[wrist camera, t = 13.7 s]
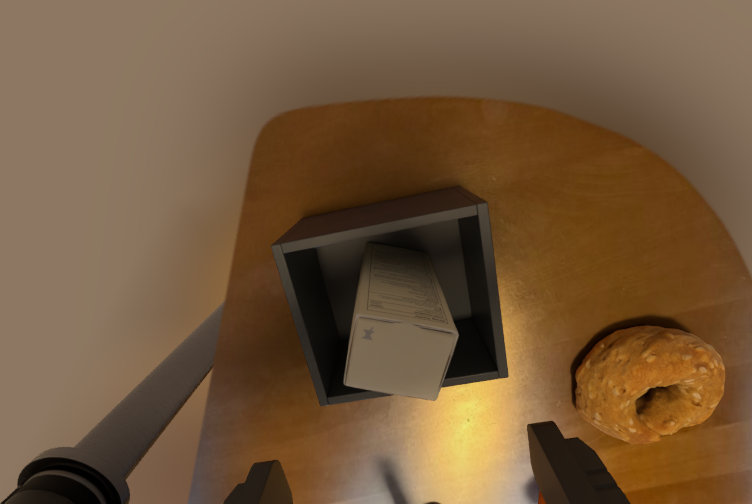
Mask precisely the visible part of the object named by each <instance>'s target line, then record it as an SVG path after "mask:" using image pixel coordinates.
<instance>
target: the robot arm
mask: <svg viewBox="0 0 752 504" xmlns="http://www.w3.org/2000/svg"><path fill="white" fill-rule="evenodd" d="M527 431H528V441H529V450H530V459H531V465H532V470H533V473H534V476H535V479H536V482H537V485H538V487H539V489H540V492H541V494H542V496H543V498H544V501H545V503H546V504H630V502H629V501H628V499H627V498H626V496H625V495H624V493H623V492H622V490H621V489H620V488H619V487H618V486H617V483H616V482H615V480H614V479H613V477H612V476H611V474H610V473H609V472H608V471H607V468H606V467H605V465H604V464H603V462H602V461H601V460H600V458H599V457H598V455H597V454H596V452H595V451H594V450H593V449H592V448H590V447H589V446H588V445H587V444H585V443H584V442H583V441H581V440H580V439H579V438H578V437H576V438H569V439H564V437H563V435H562V434H561V432H560V430H559V429H558V427H557V425H556V424H555V423H554V422H553V421H546V422H540V423H533V424H528V425H527ZM0 504H110V500H109V497H108V495H107V493H106V492H105V490H104V489H103V487H102V486H101V485H100V484H99V483H98V482H97V481H95V480H94V479H93V478H91V477H90V476H88V475H86V474H84V473H82V472H80V471H78V470H75V469H71V468H66V467H48V468H44V469H42V470H39V471H38V472H36V473H35V474H34V475H33V476H32V477H31V478H29V479H28V480H27V481H26V482H24V483H22V484H21V485H20V486H19V487H17V488H16V489H15V490H14V491H13V492H12V493H11V494H10V495H9V496H8V497H7V498H6V499H5V500H3V502H1V503H0ZM224 504H293V498H292V493H291V490H290V488H289V485H288V482H287V480H286V477H285V474H284V471H283V469H282V466H281V464H280V462H279V461H278V460H273V461H266V462H259V463H255V464H253V466H252V467H251V469H250V472H249V474H248V476H247V479H246V481H245V483H242V484H238V485H237V486H236V487H235V489H234V490H233V491H232V492H231V494H230V495H229V496H228V497H227V499H226V500H225V501H224Z"/></svg>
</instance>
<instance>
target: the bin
mask: <svg viewBox="0 0 752 504" xmlns="http://www.w3.org/2000/svg"><path fill="white" fill-rule="evenodd" d="M367 243H374V244H381V245H387V246H392V247H398V248H403V249H409V250H414V251H418V252H422V253H427V254H429V256H430V258H431V261H432V264H433V267H434V270H435V273H436V275H437V278H438V281H439V284H440V286H441V289H442V291H443V294H444V297H445V300H446V302H447V305H448V308H449V311H450V313H451V316H452V319H453V322H454V324H455V327H456V329H457V331H458V334H459V337H458V340H457V342H456V346H455V349H454V352H453V355H452V358H451V361H450V364H449V366H448V369H447V372H446V375H445V378H444V380H443V383H442V386H441V388H442V387H448V386H455V385H461V384H468V383H474V382H480V381H487V380H493V379H498V378H507V377H508V368H507V359H506V351H505V343H504V334H503V326H502V318H501V309H500V301H499V293H498V284H497V276H496V268H495V259H494V251H493V243H492V234H491V226H490V218H489V209H488V203H487V202H486V201H484V200H483V199H481V198H479V197H478V196H476V195H474V194H472V193H471V192H469V191H467V190H466V189H464V188H462V187H460V186H456V187H451V188H447V189H442V190H437V191H432V192H427V193H422V194H417V195H413V196H408V197H403V198H398V199H393V200H388V201H384V202H379V203H374V204H369V205H364V206H359V207H354V208H350V209H345V210H340V211H335V212H330V213H325V214H321V215H316V216H311V217H306V218H302V219H301V220H300V221H298V222H297V223H296V224H295V225H294V226H293V227H292V228H291V229H289V230H288V231H287V232H286V233H285V234H284V235H283V236H282V237H280V238H279V239H278V240H277V241H276V242H275V243H274V244H272V245H271V248H272V252H273V255H274V258H275V261H276V264H277V268H278V271H279V274H280V277H281V281H282V284H283V287H284V290H285V293H286V297H287V300H288V303H289V306H290V310H291V313H292V316H293V319H294V322H295V326H296V329H297V332H298V335H299V339H300V342H301V345H302V348H303V351H304V355H305V358H306V361H307V364H308V367H309V371H310V374H311V377H312V380H313V384H314V387H315V390H316V393H317V396H318V400H319V403H320V406H326V405H333V404H339V403H345V402H352V401H358V400H365V399H371V398H378V397H384V396H390V395H394V394H388V393H382V392H377V391H371V390H366V389H360V388H355V387H350V386H346V385H345V384H344V375H345V368H346V360H347V353H348V347H349V340H350V333H351V326H352V320H353V314H354V307H355V301H356V294H357V287H358V281H359V275H360V270H361V264H362V259H363V255H364V251H365V246H366V244H367Z"/></svg>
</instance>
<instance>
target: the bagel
mask: <svg viewBox="0 0 752 504" xmlns="http://www.w3.org/2000/svg"><path fill="white" fill-rule="evenodd" d="M575 377H576V381H577V388H576V391H575V394H576V409H577V412H578V413H579V415H580V416H581V417H582V418H583V419H584V420H585V421H587V422H589V423H591V424H592V425H594V426H595V427H596V428H598V429H599V430H601V431H603V432H604V433H606V434H608V435H610V436H613V437H615V438H618V439H621V440H623V441H625V442H628V443H631V444H642V443H652V442H657V441H660V440H661V436H660V435H667V434H670V435H672V433H675V432H677V431H678V429H680V428H681V427H688V426H693V425H696V424H700V423H702V422H703V421H704V420H706V419H707V418H708V417H709V416H710V415H711V414H712V412H713V411H714V409H715V408H716V406H717V404H718V403H719V401H720V399H721V398H722V396H723V394H724V382H725V367H724V365H723V362H722V358H721V356H720V355H719V354H718V353H717V352H716V351H715V350H714V348H713V347H712V346H711V345H708V344H707V343H705V342H704V341H703V340H702V339H700V338H699V337H697V336H695V335H693V334H692V333H687V332H684V331H682V330H679V329H671V328H663V327H659V326H636V327H631V328H627V329H621V330H618V331H615V332H614V333H612V334H611V335H609V336H607V337H605V338H604V339H602V340H601V341H599V342H598V343H597V344H596V345H595V346H594V347H593V349H592V350H591V351H590V352H589V353H588V354H587V355H586V357H585V359H583V363H582V365H580V366H579V368H578V369H577V371H576V375H575Z"/></svg>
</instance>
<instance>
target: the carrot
mask: <svg viewBox="0 0 752 504" xmlns="http://www.w3.org/2000/svg"><path fill="white" fill-rule="evenodd" d="M538 504H546V503H545V501H544V498H543V496H542V494H541V492H540V491H539V500H538Z"/></svg>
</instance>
